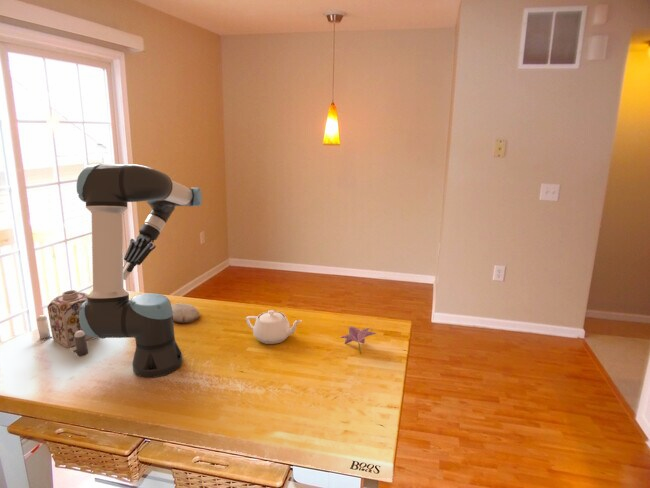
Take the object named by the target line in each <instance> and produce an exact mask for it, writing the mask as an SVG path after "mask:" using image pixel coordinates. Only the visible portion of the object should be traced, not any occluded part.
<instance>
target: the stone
mask: <svg viewBox="0 0 650 488" xmlns="http://www.w3.org/2000/svg"><path fill="white" fill-rule="evenodd" d="M171 307H172V310H173V322H175V323H178V324H188V323H189V324H190V323H192V322H194V321H196V320H198V318H199V316H200V311H199V310H198V308H197V307H195V306H194V305H191V304H189V303H185V302H177V303H173V304H171Z"/></svg>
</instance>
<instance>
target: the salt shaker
mask: <svg viewBox="0 0 650 488" xmlns="http://www.w3.org/2000/svg"><path fill="white" fill-rule="evenodd" d="M36 323H37V330H38V334H39V335H38V336H39V339H40V338H41V339H40V340H45V339H44V338H47V337H49V336H51V333H50V331H51V330H50V328H49V321H48V317H47V315H44V314H40V315H38V316H37V317H36Z"/></svg>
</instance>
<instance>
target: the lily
mask: <svg viewBox="0 0 650 488" xmlns="http://www.w3.org/2000/svg"><path fill="white" fill-rule="evenodd" d="M369 330H370V327H366V328H364V329H361V330H360V329H359V328H357V327H355V326H349V328H348V334H345V335H343V336H339V338H340V339H345V341H344V344H345V345H346V344H349V343H352V342H355V343H358V348H359V354H360V355H362V351H361V346H360V343H361V344H365V342H366V337H369V336H374V335H376V334H377V332H375V331H369Z"/></svg>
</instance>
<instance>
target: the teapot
mask: <svg viewBox="0 0 650 488" xmlns="http://www.w3.org/2000/svg"><path fill="white" fill-rule="evenodd" d="M252 319H253V320H255V322H254V325H253V324H252V323H251V321H250V320H252ZM245 322H246V325H247V326H248V327H249V328H250V329H251V330H252V334H253V336H254V339H257V341H259V342H260V343H262V344H267V345H276V344H279V343H282V342H284V341H285V340H286V339H288V337H289V336H291V335H293V334H294V333H295V332H296V329H297V327H298V326H297V325H298V324H299V323H301V322H303V320H302V319H296V320H295V321H294V322H293V325H292V326H291V323H290V322H289V320H288V318H287V316H286V314H285V313H284V312H281V311H276V310H273V309H271V310H268V311H264V312H262V313H260V314H258V316H255V315H248V316H246V317H245Z"/></svg>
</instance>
